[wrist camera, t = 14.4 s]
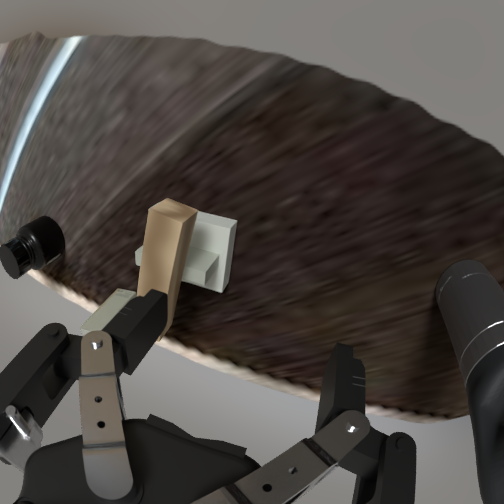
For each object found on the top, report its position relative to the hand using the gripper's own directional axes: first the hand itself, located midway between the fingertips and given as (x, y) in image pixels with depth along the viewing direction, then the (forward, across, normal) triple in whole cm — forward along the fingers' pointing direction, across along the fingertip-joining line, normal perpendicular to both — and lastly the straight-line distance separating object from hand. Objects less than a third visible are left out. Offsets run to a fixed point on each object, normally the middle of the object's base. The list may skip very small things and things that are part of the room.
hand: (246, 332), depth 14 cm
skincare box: (+28, +26, +28) cm, 48 cm away
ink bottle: (+28, +46, +19) cm, 57 cm away
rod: (+20, +14, +12) cm, 27 cm away
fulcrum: (+28, +14, +12) cm, 34 cm away
